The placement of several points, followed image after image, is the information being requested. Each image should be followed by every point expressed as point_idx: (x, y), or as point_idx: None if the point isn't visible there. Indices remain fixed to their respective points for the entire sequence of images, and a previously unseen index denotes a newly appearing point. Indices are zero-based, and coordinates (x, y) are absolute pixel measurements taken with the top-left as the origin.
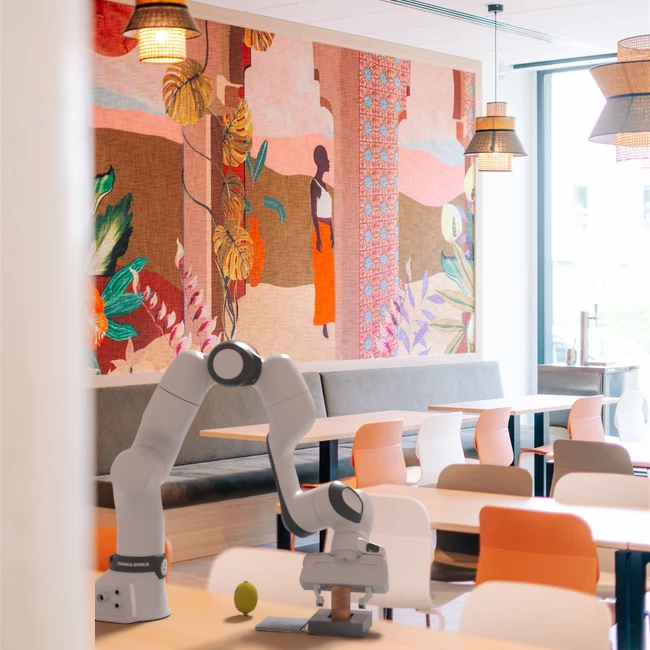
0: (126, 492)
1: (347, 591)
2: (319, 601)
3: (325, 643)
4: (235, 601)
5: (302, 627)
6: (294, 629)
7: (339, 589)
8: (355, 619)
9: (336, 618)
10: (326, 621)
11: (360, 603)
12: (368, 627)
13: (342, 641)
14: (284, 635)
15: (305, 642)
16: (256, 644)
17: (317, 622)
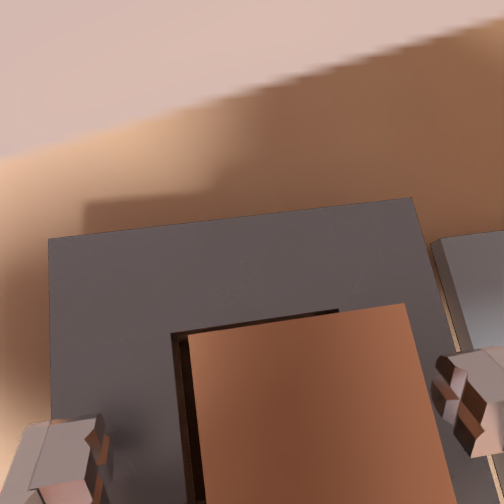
0: None
1: (190, 344)
2: (474, 355)
3: (233, 110)
4: None
5: (455, 299)
6: (466, 235)
7: (307, 345)
8: (128, 334)
9: (267, 311)
10: (297, 210)
11: (71, 423)
12: None
13: (167, 166)
14: (470, 178)
15: (324, 99)
16: (488, 20)
17: (350, 207)
